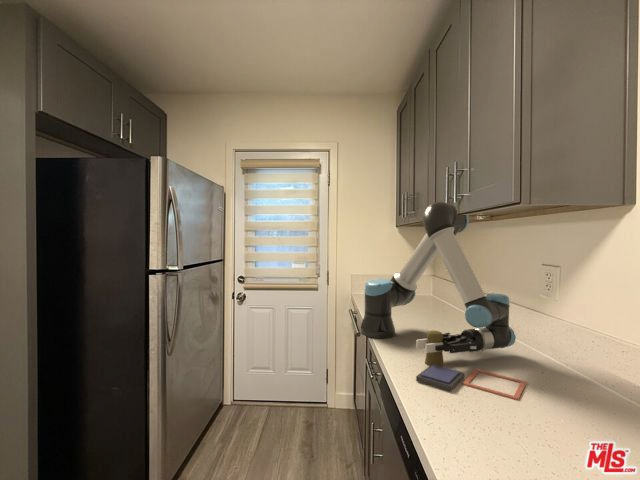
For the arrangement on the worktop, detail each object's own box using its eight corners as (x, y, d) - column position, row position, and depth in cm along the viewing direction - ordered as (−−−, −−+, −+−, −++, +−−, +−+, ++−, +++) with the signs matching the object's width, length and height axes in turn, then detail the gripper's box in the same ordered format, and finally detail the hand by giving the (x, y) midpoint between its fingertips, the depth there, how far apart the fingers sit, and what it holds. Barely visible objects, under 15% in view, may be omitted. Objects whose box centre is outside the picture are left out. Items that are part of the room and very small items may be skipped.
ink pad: (431, 369, 107) (431, 362, 107) (464, 378, 100) (464, 371, 100) (416, 381, 97) (416, 374, 97) (450, 391, 91) (451, 384, 91)
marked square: (475, 370, 107) (475, 368, 107) (526, 382, 98) (526, 381, 98) (462, 384, 96) (462, 383, 96) (518, 400, 87) (518, 398, 87)
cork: (445, 368, 108) (446, 334, 107) (426, 366, 109) (426, 333, 109) (442, 361, 113) (443, 329, 113) (424, 359, 115) (424, 328, 115)
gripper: (496, 358, 109) (438, 367, 101) (458, 342, 125) (405, 349, 117) (496, 336, 109) (439, 342, 101) (458, 323, 125) (406, 328, 117)
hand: (421, 346), depth 109 cm, fingers closed on cork, 4 cm apart
